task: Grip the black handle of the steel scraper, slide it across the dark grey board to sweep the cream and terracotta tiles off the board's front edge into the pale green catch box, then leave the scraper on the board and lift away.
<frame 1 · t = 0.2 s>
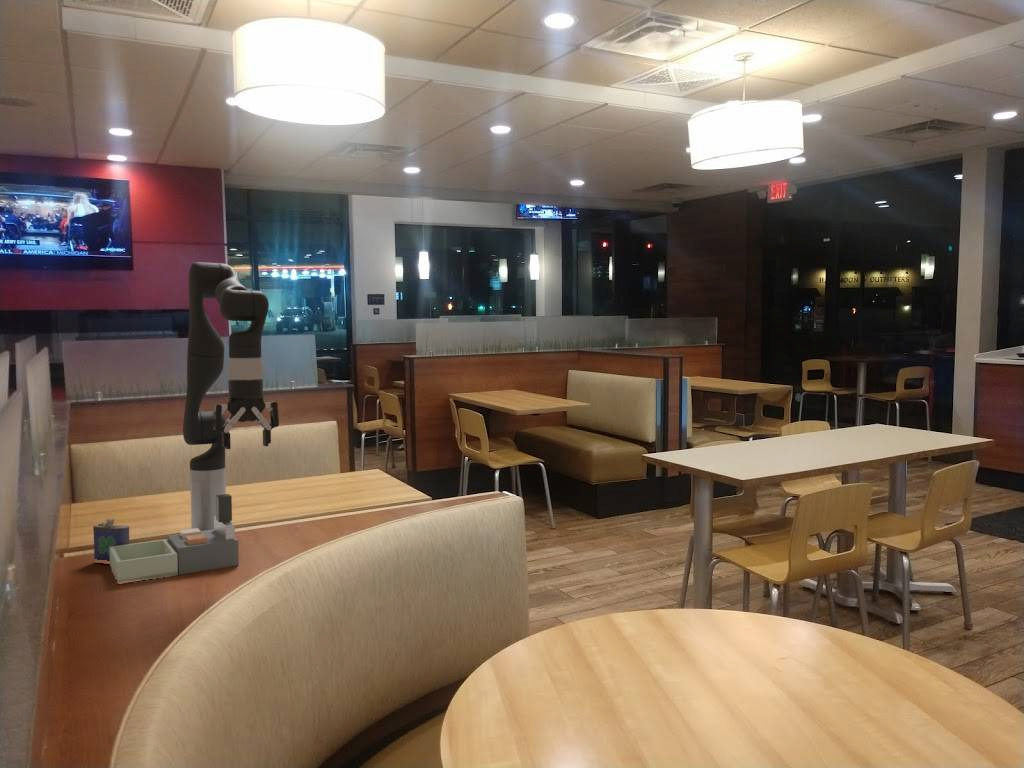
hand: (246, 447, 173), 28 cm above the table, tool pointing down, fingers open, 8 cm apart
catch box: (143, 571, 170), on the table
scraper: (224, 534, 180), point 6 cm above the table, touching board
board: (202, 562, 177), on the table
tile terracotta: (196, 542, 173), point 6 cm above the table, touching board
tile cream: (190, 535, 179), point 6 cm above the table, touching board
flask: (112, 563, 177), on the table
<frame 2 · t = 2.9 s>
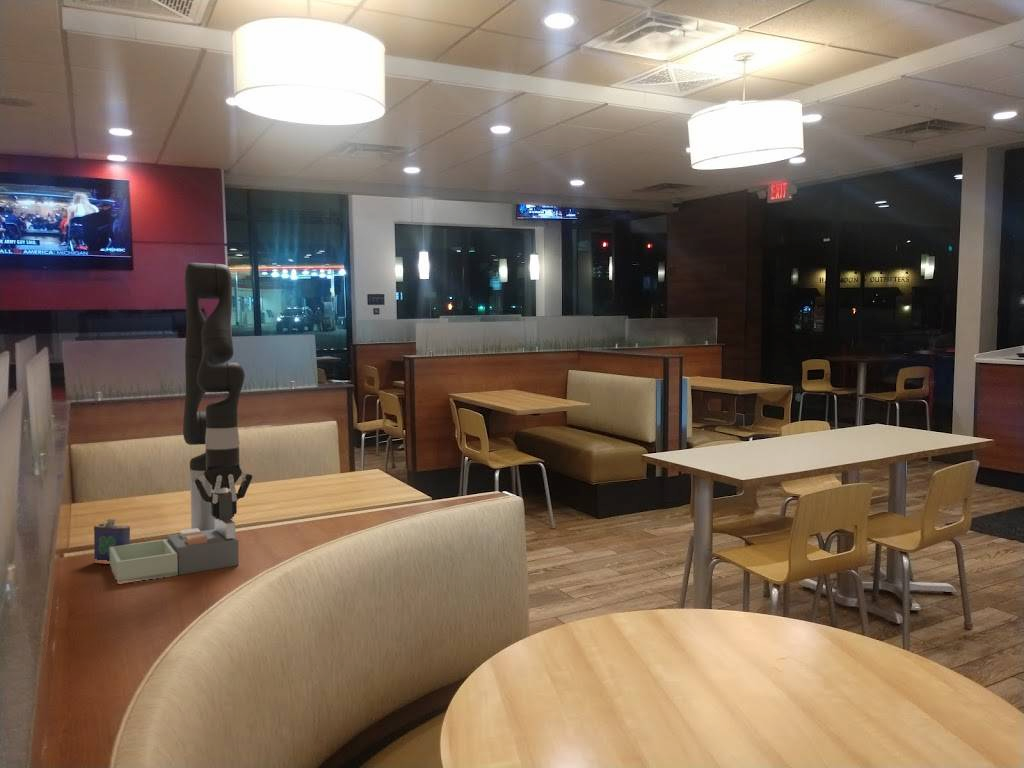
hand: (223, 517, 180), 10 cm above the table, tool pointing down, fingers closed on scraper, 3 cm apart
scraper: (224, 533, 180), point 6 cm above the table, touching gripper
everything else where it was.
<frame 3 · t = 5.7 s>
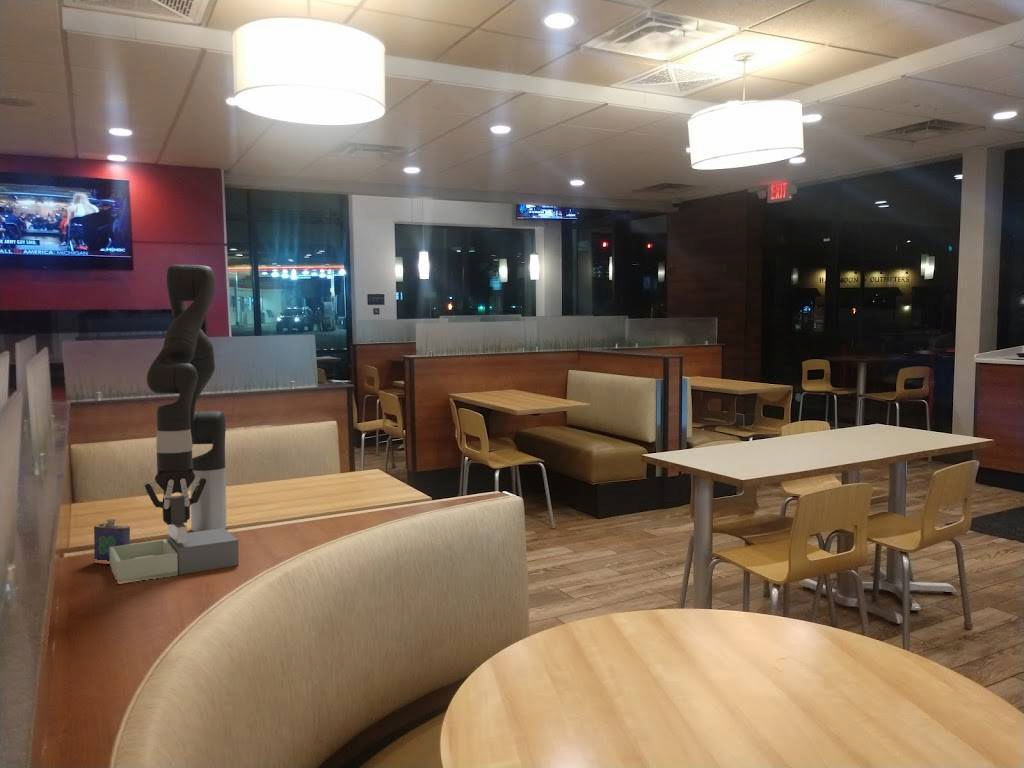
hand: (176, 522, 174), 10 cm above the table, tool pointing down, fingers closed on scraper, 3 cm apart
scraper: (177, 537, 173), point 7 cm above the table, touching gripper
tile terracotta: (147, 565, 167), point 2 cm above the table, tilted 180°, touching catch box
tile cream: (145, 558, 173), point 2 cm above the table, tilted 180°, touching catch box
everything else where it was.
when the fingers open (10 cm above the table, at t = 7.8 s): scraper stays where it is, resting on board.
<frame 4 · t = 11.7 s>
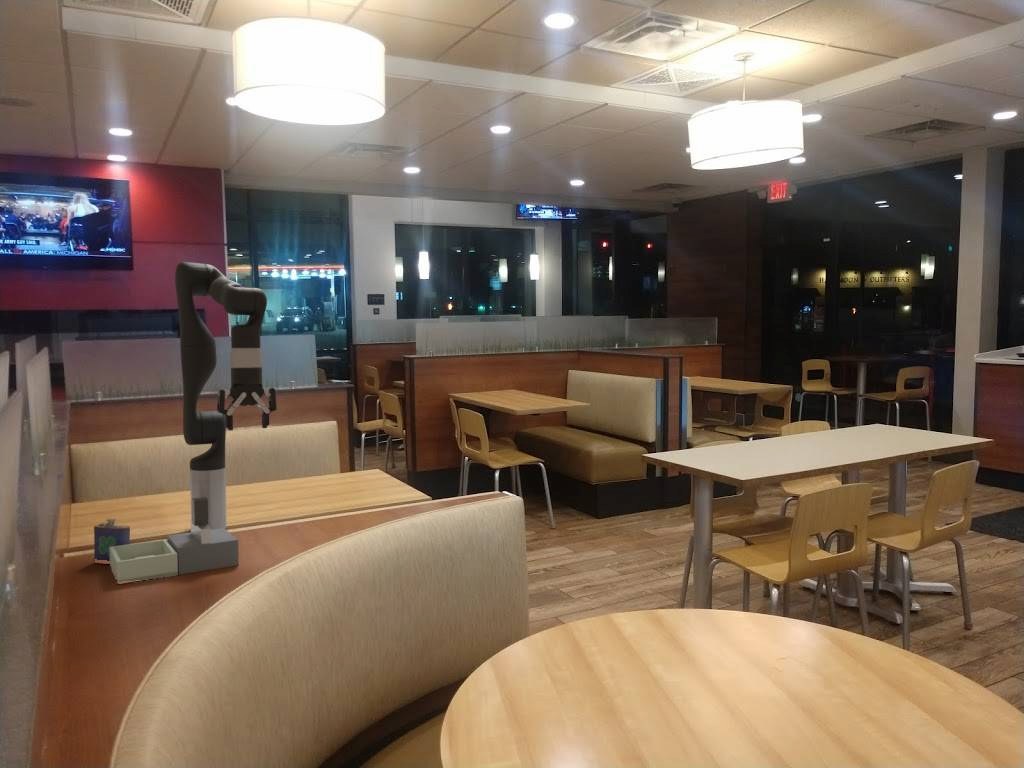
hand: (247, 429, 192), 30 cm above the table, tool pointing down, fingers open, 8 cm apart
scraper: (200, 538, 176), point 6 cm above the table, touching board
everything else where it was.
at the end: tile cream inside the target area on the catch box (3.5 cm from its centre), point 2.2 cm above the catch box's base; tile terracotta inside the target area on the catch box (3.5 cm from its centre), point 2.2 cm above the catch box's base; scraper inside the target area on the board (0.8 cm from its centre), point 6.0 cm above the board's base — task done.
